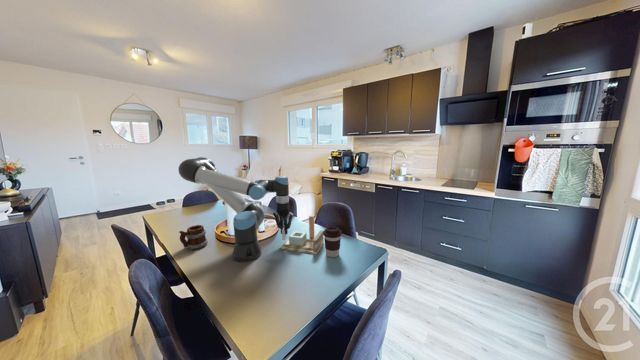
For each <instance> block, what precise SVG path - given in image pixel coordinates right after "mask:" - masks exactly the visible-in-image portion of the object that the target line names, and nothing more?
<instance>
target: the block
mask: <svg viewBox="0 0 640 360" xmlns="http://www.w3.org/2000/svg"><path fill="white" fill-rule="evenodd" d="M307 236H308V235H307V232H304V231H296V230H293V232H292V233H291V234H290V235H288V239H289V245H296V246H303V245H304V244H305V242H306V241H307V239H308V238H307Z"/></svg>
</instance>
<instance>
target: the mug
mask: <svg viewBox="0 0 640 360" xmlns="http://www.w3.org/2000/svg"><path fill="white" fill-rule="evenodd" d="M204 227H205V226H204V225H201V224H197V225H192V226H189V227H188V228H187V229H186V231H184V230H180V231H178V233H179V234H180V235H179V240H180V243H181V244H182V245H183V247H184V248H187V250H189V251H197V250H200V249H203V248H206V247H207V246H208V243H209V241H208V239H207V238H206V233H207V231H206V229H205V228H204Z"/></svg>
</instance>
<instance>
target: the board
mask: <svg viewBox="0 0 640 360" xmlns="http://www.w3.org/2000/svg"><path fill="white" fill-rule="evenodd" d="M323 231H324V230H321V229H320V230H318V233H317V234H315V235H316V236H314V239H313V240H311V239H309V238H307V241H306V242H305V244H304V245H303V246H296V245H289V238H288V239H287V240H286V241H285V242H284V243H283V244H282V245H281V246H280V249H281V250H286V251H292V252H299V253H305V254H312V255H317V254H318V253H319V252H320V250H321V248H322V246H323V245H324V244H325V240H324V237H325V236H324V235H323Z"/></svg>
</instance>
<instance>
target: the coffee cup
mask: <svg viewBox="0 0 640 360" xmlns="http://www.w3.org/2000/svg"><path fill="white" fill-rule="evenodd" d="M342 233H343V232H342V230H341V229H339V228H338V227H337V226H328V227H326V228H325V229H324V230H323V235H324V248H325V255H326V256H327V257H329V258H337V257H338V256H339V255H340V249H341V239H342V238H341V237H342V235H343V234H342Z"/></svg>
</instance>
